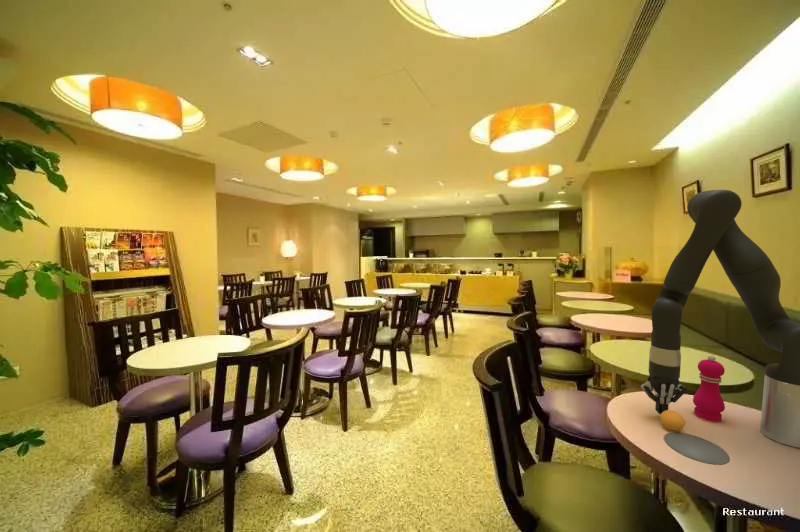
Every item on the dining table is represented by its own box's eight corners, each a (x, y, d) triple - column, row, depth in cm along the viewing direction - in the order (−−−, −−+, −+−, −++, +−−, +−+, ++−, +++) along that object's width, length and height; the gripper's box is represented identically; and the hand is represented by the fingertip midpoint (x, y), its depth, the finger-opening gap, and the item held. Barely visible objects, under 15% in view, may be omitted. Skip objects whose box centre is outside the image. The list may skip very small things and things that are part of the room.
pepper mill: (730, 424, 96) (735, 360, 94) (702, 422, 97) (706, 359, 95) (712, 411, 103) (716, 352, 101) (686, 409, 104) (690, 350, 102)
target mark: (700, 433, 91) (700, 433, 91) (745, 465, 79) (745, 465, 78) (652, 431, 93) (652, 431, 93) (688, 463, 80) (688, 462, 80)
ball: (686, 412, 91) (690, 433, 90) (677, 410, 96) (680, 430, 94) (663, 409, 93) (666, 430, 91) (655, 407, 98) (658, 427, 96)
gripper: (650, 364, 95) (647, 419, 96) (697, 365, 93) (694, 421, 95) (634, 355, 102) (631, 406, 104) (678, 356, 101) (675, 408, 102)
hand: (661, 413), depth 99 cm, fingers closed
